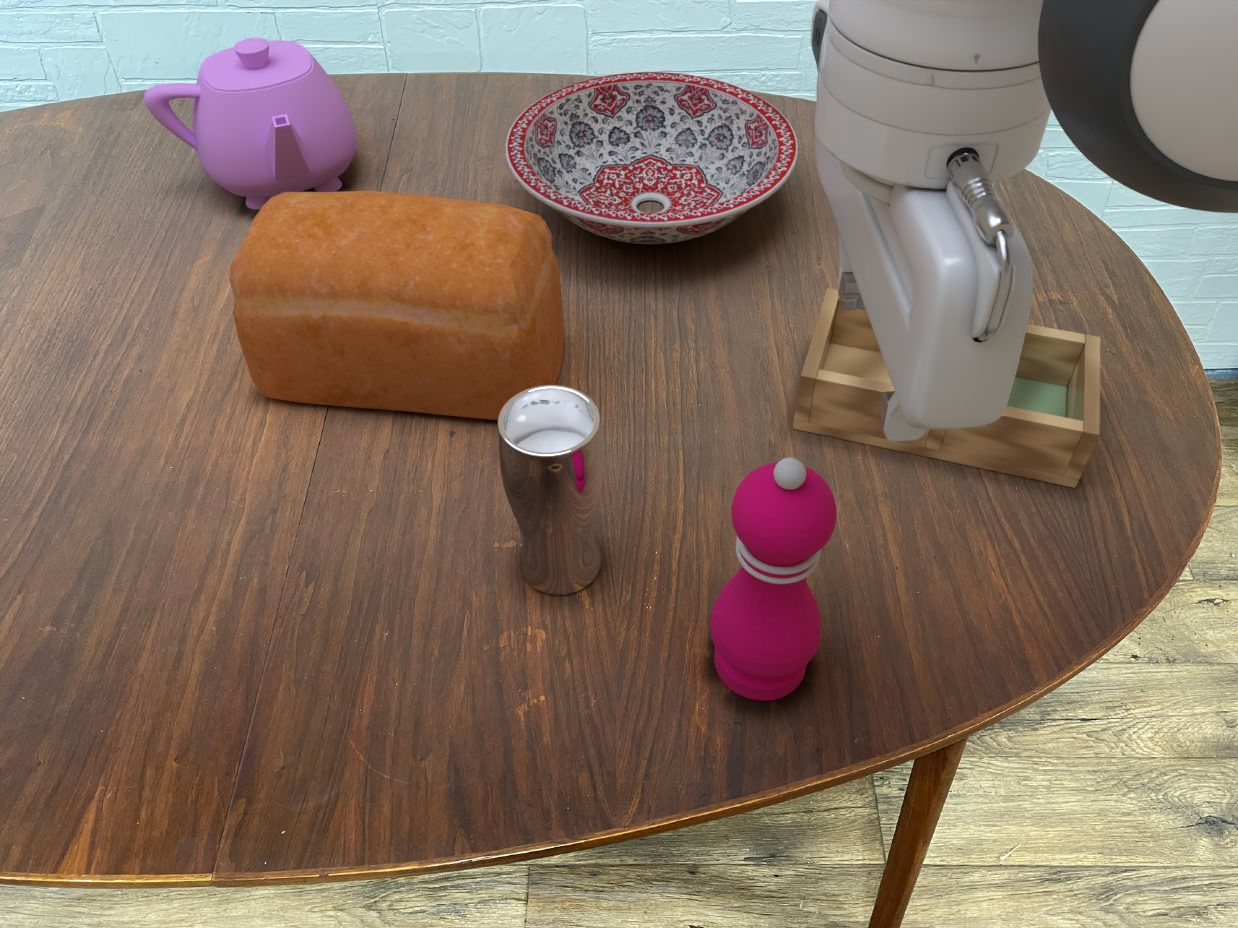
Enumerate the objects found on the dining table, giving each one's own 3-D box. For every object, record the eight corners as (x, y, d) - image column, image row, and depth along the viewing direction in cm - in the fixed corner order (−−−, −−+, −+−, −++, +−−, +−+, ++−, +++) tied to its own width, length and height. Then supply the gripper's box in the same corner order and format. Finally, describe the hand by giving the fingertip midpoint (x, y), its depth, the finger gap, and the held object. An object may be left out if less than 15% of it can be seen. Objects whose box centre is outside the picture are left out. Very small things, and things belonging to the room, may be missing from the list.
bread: (544, 433, 87) (530, 280, 75) (245, 405, 90) (188, 252, 78) (572, 329, 96) (564, 178, 85) (301, 306, 99) (257, 156, 87)
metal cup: (619, 538, 79) (617, 394, 68) (589, 611, 75) (582, 468, 64) (533, 518, 81) (518, 373, 70) (499, 587, 76) (477, 444, 65)
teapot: (197, 261, 104) (145, 122, 93) (170, 164, 117) (122, 32, 106) (388, 214, 109) (361, 78, 98) (343, 127, 122) (315, -3, 111)
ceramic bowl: (483, 282, 101) (474, 211, 95) (541, 130, 121) (536, 64, 115) (784, 306, 98) (794, 234, 92) (793, 146, 118) (802, 79, 112)
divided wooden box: (1078, 390, 90) (1100, 336, 85) (1075, 488, 82) (1100, 434, 78) (818, 340, 95) (826, 287, 90) (792, 428, 87) (800, 375, 83)
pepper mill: (806, 618, 74) (849, 417, 59) (818, 709, 69) (867, 513, 54) (705, 617, 74) (722, 416, 59) (709, 707, 69) (728, 512, 55)
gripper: (1116, 242, 33) (1007, 521, 43) (943, -17, 47) (891, 239, 57) (921, 251, 33) (857, 530, 43) (805, -12, 47) (777, 244, 57)
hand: (876, 361), depth 50 cm, fingers open, 8 cm apart
